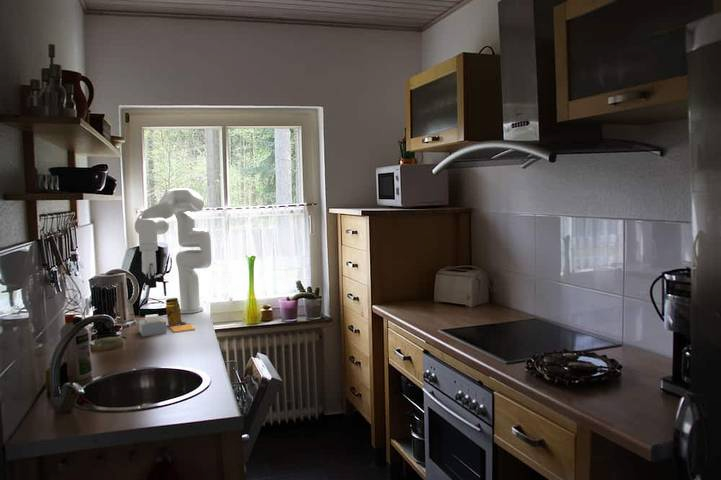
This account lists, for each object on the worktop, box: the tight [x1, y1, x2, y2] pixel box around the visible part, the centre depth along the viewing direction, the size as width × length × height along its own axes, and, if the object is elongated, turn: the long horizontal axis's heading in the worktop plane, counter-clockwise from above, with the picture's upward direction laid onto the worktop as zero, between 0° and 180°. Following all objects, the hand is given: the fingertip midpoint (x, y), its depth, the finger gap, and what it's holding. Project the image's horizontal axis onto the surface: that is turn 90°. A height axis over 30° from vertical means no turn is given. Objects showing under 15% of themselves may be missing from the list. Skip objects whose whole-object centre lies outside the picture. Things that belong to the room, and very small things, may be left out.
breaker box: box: [138, 317, 167, 337], centre depth 264 cm, size 10×10×5 cm
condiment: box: [165, 297, 188, 327], centre depth 278 cm, size 7×8×12 cm
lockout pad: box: [169, 323, 196, 333], centre depth 269 cm, size 11×9×1 cm
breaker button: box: [144, 313, 160, 323], centre depth 263 cm, size 5×5×4 cm
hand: (150, 286), depth 262 cm, fingers open, 9 cm apart
